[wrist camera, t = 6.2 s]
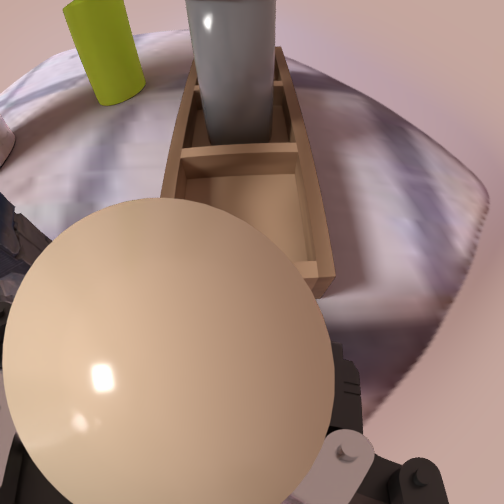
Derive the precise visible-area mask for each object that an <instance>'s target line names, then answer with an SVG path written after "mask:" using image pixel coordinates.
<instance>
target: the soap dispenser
mask: <svg viewBox="0 0 504 504" xmlns="http://www.w3.org/2000/svg"><path fill="white" fill-rule="evenodd" d="M63 13H64V15H65V19H66V22H67V24H68V27H69V30H70V33H71V36H72V38H73V41H74V43H75V46H76V49H77V51H78V54H79V57H80V59H81V62H82V64H83V67H84V69H85V72H86V74H87V76H88V79H89V81H90V84H91V86H92V88H93V91H94V93H95V95H96V97H97V100H98V102H99V104H101V105H104V106H110V105H115V104H118V103H121V102H123V101H126V100H128V99H130V98H131V97H133V96H135V95H136V94H137V93H139V92H140V91H141V90H142V89H143V87H144V86H145V83H146V82H145V78H144V75H143V71H142V68H141V64H140V61H139V57H138V54H137V50H136V47H135V43H134V40H133V36H132V32H131V28H130V25H129V21H128V17H127V13H126V9H125V5H124V1H123V0H74V1H72V2H71V3H70V4H68V5H67V6H66V7H64V8H63Z"/></svg>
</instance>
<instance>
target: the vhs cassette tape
mask: <svg viewBox="0 0 504 504" xmlns="http://www.w3.org/2000/svg"><path fill="white" fill-rule="evenodd" d="M14 209H15V206H14V205H12V204H11V203H10V202H9V201H8V200H7V199H6V198H5V197H4V195H3V194H2V193H1V192H0V302H8V303H10V304H12V303H13V301H14V298H15V295H16V293H17V291H18V289H19V287H20V285H21V283H22V281H23V279H24V277H25V275H26V274H27V272H28V271H29V269H30V268H31V266H32V265H33V263H34V262H35V260H36V259H37V258H38V257H39V256H40V254H41V253H42V252H43V251H44V250H45V248H46V247H47V246H48V245H49V244H50V243H51V242H52V240H50V239H49V238H48V237H47V236H46V235H44V234H43V233H42V232H41V231H40V230H38V229H37V228H36V227H35V226H34V225H33V224H32V223H31V222H30V221H29V220H28V219H27V218H26V217H25V216H23V215H22V214H21V213H20V214H16V213H15V212H14Z"/></svg>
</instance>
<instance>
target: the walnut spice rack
mask: <svg viewBox="0 0 504 504" xmlns="http://www.w3.org/2000/svg"><path fill="white" fill-rule="evenodd" d="M160 198H173V199H184V200H189V201H193V202H198V203H202V204H206V205H209V206H212V207H215V208H217V209H220V210H223V211H225V212H227V213H229V214H231V215H233V216H235V217H237V218H239V219H241V220H243V221H245V222H246V223H248V224H249V225H251V226H252V227H254V228H255V229H256V230H258V231H259V232H261V233H262V234H264V235H265V236H266V237H267V238H268V239H269V240H270V241H272V242H273V243H274V244H275V245H276V246H277V247H278V248H279V249H280V250H281V251H282V252H283V253H284V254H285V255H286V256H287V258H288V259H289V260H290V261H291V262H292V263H293V265H294V266H295V267H296V268H297V269H298V271H299V272H300V274H301V275H302V277H303V279H304V280H305V282H306V283H307V285H308V286H309V288H310V290H311V291H312V293H313V295H314V297H315V299H320V298H321V297H322V295H323V294H324V293H325V291H326V290H327V288H328V287H329V286H330V284H331V283H332V281H333V280H334V278H335V277H336V274H335V268H334V261H333V255H332V249H331V243H330V238H329V232H328V227H327V221H326V216H325V211H324V206H323V201H322V196H321V191H320V187H319V182H318V178H317V173H316V169H315V165H314V160H313V156H312V152H311V148H310V144H309V140H308V136H307V132H306V128H305V124H304V121H303V117H302V113H301V110H300V106H299V103H298V99H297V96H296V92H295V89H294V86H293V82H292V79H291V76H290V73H289V69H288V66H287V63H286V60H285V57H284V54H283V51H282V48H281V47H275V61H274V94H273V123H272V137H271V140H270V141H269V143H254V144H233V145H217V146H212V145H211V144H210V142H209V140H208V135H207V129H206V124H205V118H204V112H203V107H202V101H201V95H200V89H199V84H198V78H197V72H196V66H195V60H194V59H193V62H192V65H191V69H190V72H189V75H188V79H187V82H186V85H185V89H184V93H183V96H182V100H181V104H180V107H179V111H178V115H177V119H176V123H175V128H174V132H173V136H172V140H171V145H170V149H169V154H168V159H167V164H166V169H165V174H164V179H163V184H162V190H161V196H160Z"/></svg>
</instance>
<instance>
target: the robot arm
mask: <svg viewBox="0 0 504 504" xmlns="http://www.w3.org/2000/svg"><path fill="white" fill-rule="evenodd" d="M14 143H15V136H14V134H13V133H12V131H11V130H10V128H9V127H8V125H7V124H6V122H5V121H4V119H3V118H2V116H1V114H0V166H1V165H2V164H3V162H4V161H5V160H6V158H7V157H8V155H9V153H10V152H11V150H12V148H13V145H14ZM11 306H12V304H10V303H8V302H0V504H73V503H72V502H70V501H69V500H68V499H67V498H66V497H64V496H63V495H62V494H61V493H60V492H59V491H58V490H57V489H56V488H55V487H54V486H53V485H52V484H51V483H50V482H49V481H48V480H47V479H46V477H45V476H44V475H43V474H42V472H41V471H40V470H39V468H38V467H37V466H36V464H35V463H34V462H33V460H32V458H31V457H30V455H29V453H28V452H27V450H26V448H25V447H24V445H23V443H22V441H21V439H20V437H19V434H18V432H17V430H16V428H15V425H14V423H13V420H12V417H11V413H10V410H9V407H8V403H7V398H6V393H5V388H4V380H3V367H2V360H3V342H4V335H5V328H6V324H7V320H8V316H9V312H10V309H11ZM331 348H332V354H333V361H334V375H335V384H334V401H333V408H332V414H331V420H330V424H329V427H328V430H327V433H326V436H325V439H324V442H323V445H322V448H321V450H320V452H319V454H318V456H317V458H316V459H315V461H314V463H313V465H312V467H311V469H310V471H309V472H308V473H307V475H306V476H305V477H304V479H303V480H302V481H301V483H300V484H299V485H298V486H297V488H296V489H295V490H294V491H293V492H292V493H291V494H290V495H289V496H288V497H287V498H286V499H285V500H284V501H283V502H282V503H281V504H449V502H448V498H447V495H446V491H445V487H444V484H443V480H442V477H441V474H440V471H439V469H438V468H437V466H436V465H435V464H434V463H432V462H431V461H430V460H428V459H425V458H420V457H418V458H412V459H410V460H408V461H407V462H405V463H404V464H403V465H400V464H397V463H395V462H392V461H389V460H387V459H384V458H382V457H380V456H378V455H376V454H375V453H374V448H373V446H372V444H371V443H370V441H369V440H368V439H367V438H366V437H365V436H364V435H363V424H362V405H361V397H360V395H361V391H360V387H359V386H360V379H359V372H358V370H357V369H356V367H355V365H354V363H353V362H352V361H349V360H344V359H343V350H342V344H341V343H338V342H334V341H331Z"/></svg>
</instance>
